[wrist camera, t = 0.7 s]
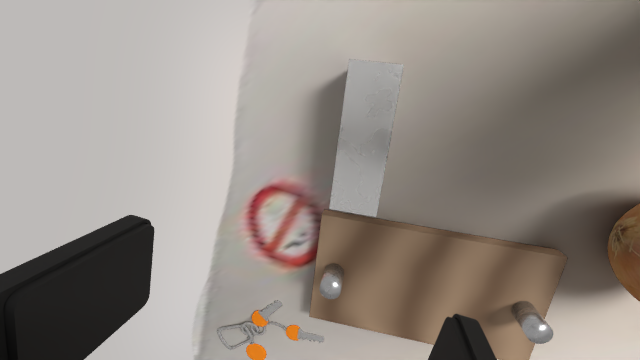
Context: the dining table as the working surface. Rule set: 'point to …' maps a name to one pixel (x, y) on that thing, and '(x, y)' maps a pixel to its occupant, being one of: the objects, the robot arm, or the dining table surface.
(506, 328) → the peg board
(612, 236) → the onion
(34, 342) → the robot arm
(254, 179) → the dining table surface
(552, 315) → the dining table surface
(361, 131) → the silver metal block
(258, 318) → the key chain
